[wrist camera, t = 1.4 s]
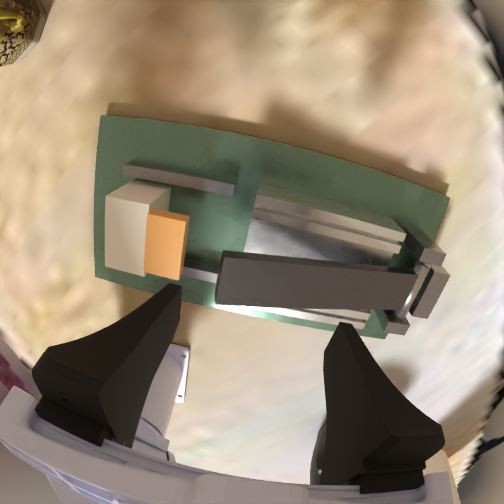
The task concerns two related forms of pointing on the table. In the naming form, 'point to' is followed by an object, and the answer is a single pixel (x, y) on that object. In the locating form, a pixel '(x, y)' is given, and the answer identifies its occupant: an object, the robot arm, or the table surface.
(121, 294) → the table surface
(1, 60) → the ceramic cup
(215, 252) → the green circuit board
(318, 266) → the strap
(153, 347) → the robot arm
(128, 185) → the block
